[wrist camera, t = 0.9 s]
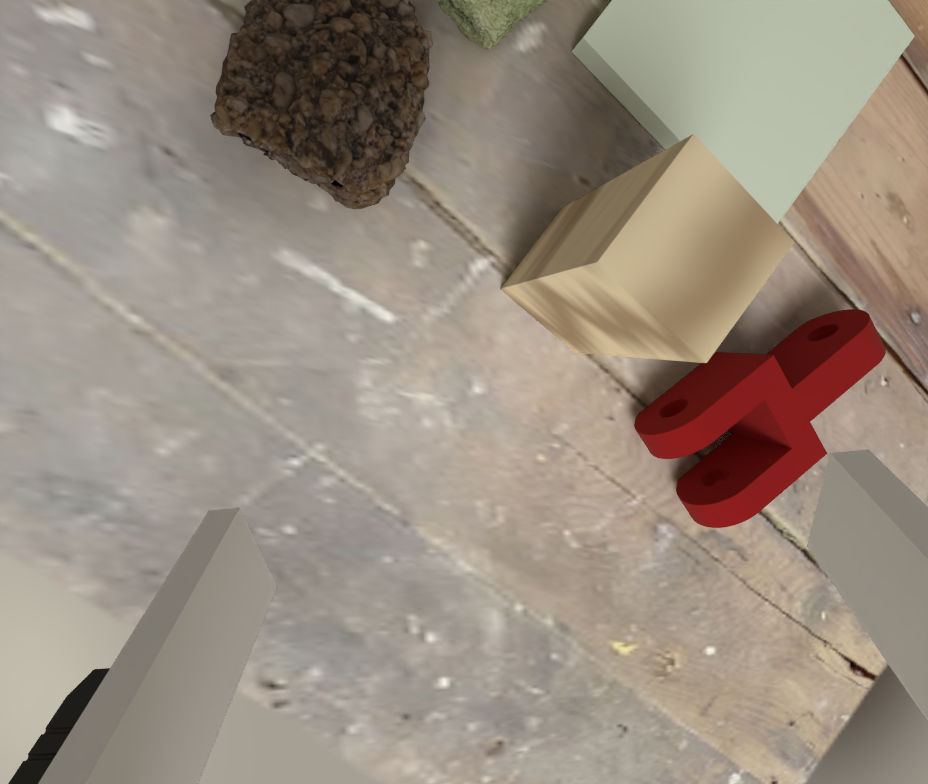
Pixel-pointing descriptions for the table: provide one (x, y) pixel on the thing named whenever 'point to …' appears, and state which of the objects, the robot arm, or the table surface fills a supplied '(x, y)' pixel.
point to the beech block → (652, 260)
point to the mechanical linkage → (758, 415)
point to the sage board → (747, 78)
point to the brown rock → (328, 90)
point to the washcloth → (488, 17)
